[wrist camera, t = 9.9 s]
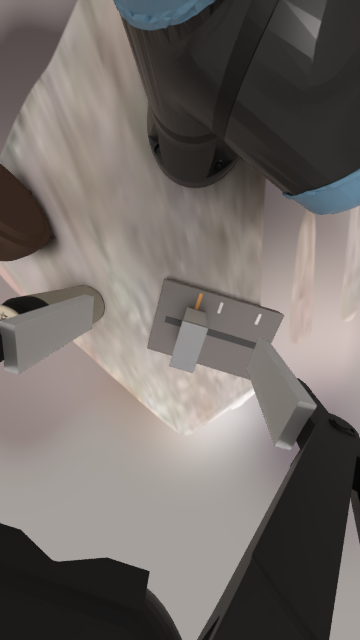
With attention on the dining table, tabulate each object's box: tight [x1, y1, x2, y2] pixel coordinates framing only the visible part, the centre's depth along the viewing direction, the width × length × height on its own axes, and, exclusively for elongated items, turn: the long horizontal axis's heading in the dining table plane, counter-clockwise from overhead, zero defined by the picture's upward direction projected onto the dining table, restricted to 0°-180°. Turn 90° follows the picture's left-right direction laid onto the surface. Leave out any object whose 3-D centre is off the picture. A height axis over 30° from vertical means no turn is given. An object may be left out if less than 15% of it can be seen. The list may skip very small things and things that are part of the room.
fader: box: [169, 307, 208, 373], centre depth 31 cm, size 4×7×9 cm, turn 164°
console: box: [147, 278, 284, 380], centre depth 37 cm, size 22×14×3 cm, turn 74°
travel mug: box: [0, 286, 104, 362], centre depth 31 cm, size 8×8×18 cm
